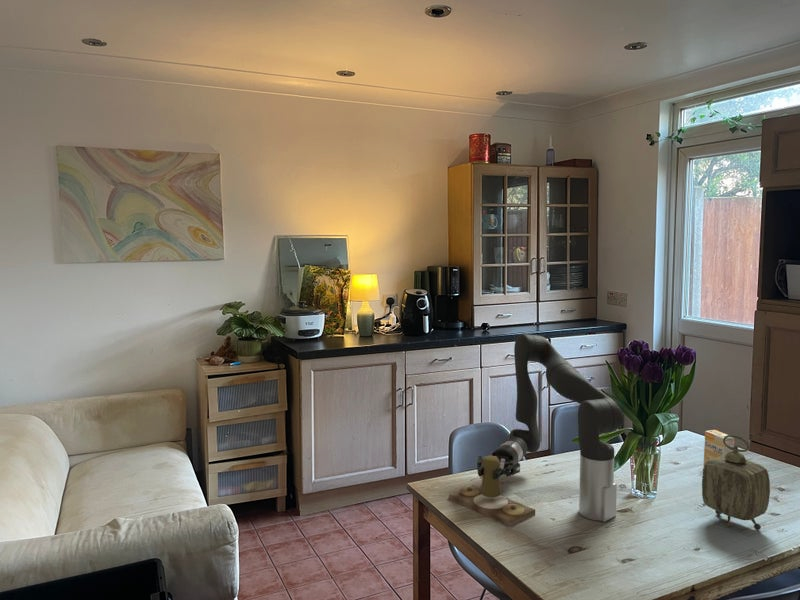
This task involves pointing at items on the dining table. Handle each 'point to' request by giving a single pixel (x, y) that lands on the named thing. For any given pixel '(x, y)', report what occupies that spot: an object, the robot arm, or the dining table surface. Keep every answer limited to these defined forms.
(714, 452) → the supplement box
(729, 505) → the tabletop clock
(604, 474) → the robot arm
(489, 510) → the board
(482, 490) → the cork
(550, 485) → the dining table surface
